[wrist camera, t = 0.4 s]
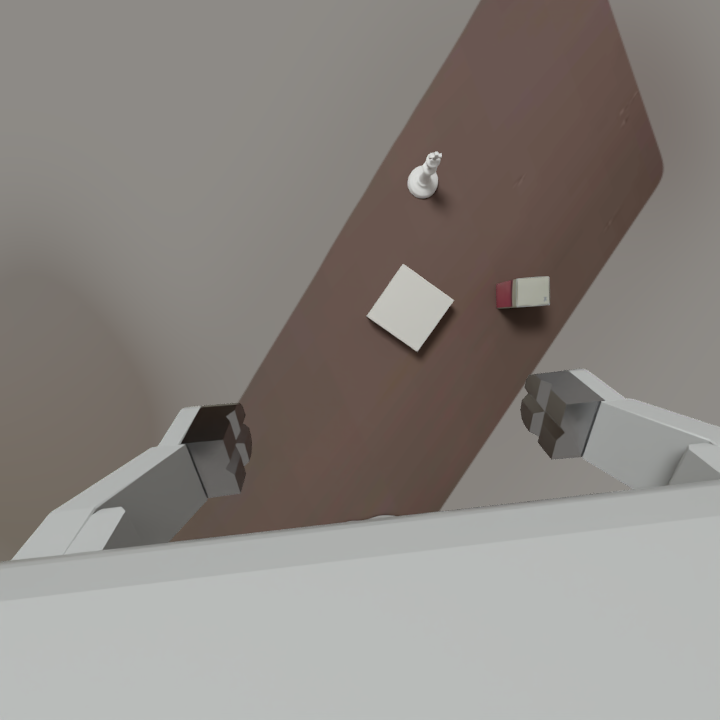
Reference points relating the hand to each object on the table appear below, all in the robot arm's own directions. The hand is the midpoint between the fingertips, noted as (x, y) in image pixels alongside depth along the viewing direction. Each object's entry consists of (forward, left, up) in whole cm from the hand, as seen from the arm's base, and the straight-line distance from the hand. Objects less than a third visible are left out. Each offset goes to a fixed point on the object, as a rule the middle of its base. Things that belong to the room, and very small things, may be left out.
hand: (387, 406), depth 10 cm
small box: (+20, -17, -50) cm, 56 cm away
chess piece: (+26, +6, -50) cm, 57 cm away
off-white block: (+8, -4, -50) cm, 51 cm away
